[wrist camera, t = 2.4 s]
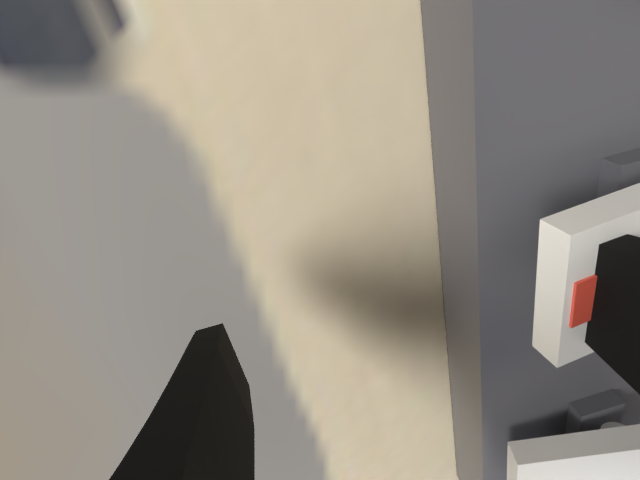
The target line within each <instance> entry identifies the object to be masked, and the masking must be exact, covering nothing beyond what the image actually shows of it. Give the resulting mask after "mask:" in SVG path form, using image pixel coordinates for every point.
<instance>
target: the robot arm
mask: <svg viewBox="0 0 640 480" xmlns="http://www.w3.org/2000/svg"><path fill="white" fill-rule="evenodd" d="M595 275H596V276H597V283H596V289H595V296H594V302H593V309H592V315H591V320H590V321H588V322H587V329H586V336H585V343H586V344H587V345H588V346H589V347H590V348H591V349H592V350H593V351H594V352H595V353H596V354H597V355H598V356H599V357H600V358H601V359H603V360H604V361H605V362H606V363H607V364H608V365H609V366H610V367H611V368H612V369H613V370H614V371H615V372H616V373H617V374H618V375H619V376H620V377H621V378H623V379H624V380H625V381H626V382H627V383H628V384H629V385H630V386H631V387H632V388H633V389H634V390H635V391H636V392H637V393H638V394H639V395H640V237H637V236H633V235H629V234H626V235H623V236H620V237H618V238H615V239H612V240H609V241H607V242H604V243H601V244H599V248H598V255H597V262H596V269H595ZM109 480H254V422H253V414H252V404H251V397H250V389H249V384H248V382H247V379H246V377H245V375H244V372H243V370H242V368H241V365H240V363H239V361H238V358H237V356H236V353H235V351H234V349H233V346H232V344H231V342H230V340H229V337H228V335H227V333H226V330H225V328H224V325H223V324H219V325H216V326H212V327H208V328H205V329H201V330H198V331H196V332H195V334H194V335H193V337H192V339H191V341H190V342H189V344H188V346H187V348H186V350H185V352H184V354H183V356H182V358H181V360H180V362H179V364H178V365H177V367H176V369H175V371H174V373H173V375H172V377H171V379H170V381H169V382H168V385H167V386H166V388H165V390H164V392H163V393H162V395H161V397H160V399H159V400H158V402H157V404H156V406H155V407H154V409H153V411H152V413H151V414H150V416H149V418H148V420H147V421H146V423H145V425H144V426H143V428H142V429H141V431H140V433H139V434H138V436H137V437H136V439H135V441H134V442H133V444H132V445H131V447H130V449H129V450H128V452H127V454H126V455H125V457H124V458H123V460H122V461H121V463H120V465H119V466H118V467H117V469H116V471H115V472H114V473H113V475H112V476H111V478H110V479H109Z"/></svg>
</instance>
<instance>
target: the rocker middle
mask: <svg viewBox="0 0 640 480" xmlns="http://www.w3.org/2000/svg"><path fill="white" fill-rule="evenodd" d="M626 234H629V235H633V236H637V237H640V183H638V184H635V185H632V186H630V187H627V188H624V189H621V190H619V191H616V192H613V193H610V194H608V195H605V196H602V197H599V198H597V199H594V200H591V201H588V202H586V203H583V204H580V205H577V206H575V207H572V208H569V209H566V210H564V211H561V212H558V213H556V214H553V215H550V216H547V217H545V218H542V219H540V225H539V241H538V258H537V274H536V290H535V306H534V322H533V338H532V346H533V347H534V348H535V349H536V350H537V351H538V352H540V353H541V354H542V355H543V356H544V357H545V358H546V359H547V360H549V361H550V362H551V363H552V364H553V365H554V366H555V367H556V368H558V367H561V366H563V365H565V364H568V363H570V362H572V361H575V360H577V359H579V358H581V357H584V356H586V355H588V354H591V353H593V352H594V351H593V350H592V349H591V348H590V347H589V346H588V345H587V344H586V343H585V336H586V329H587V322H588V321H590V320H591V315H592V309H593V302H594V296H595V289H596V283H597V276H596V275H595V269H596V262H597V255H598V248H599V244H601V243H604V242H607V241H609V240H612V239H615V238H618V237H620V236H623V235H626Z"/></svg>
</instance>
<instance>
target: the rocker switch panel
mask: <svg viewBox="0 0 640 480" xmlns="http://www.w3.org/2000/svg"><path fill="white" fill-rule="evenodd" d="M421 12H422V25H423V38H424V51H425V65H426V78H427V91H428V104H429V117H430V130H431V143H432V156H433V169H434V182H435V195H436V208H437V221H438V234H439V247H440V260H441V273H442V286H443V299H444V312H445V325H446V338H447V351H448V364H449V377H450V390H451V403H452V416H453V429H454V442H455V455H456V468H457V476H458V478H459V480H507V447H508V442H510V441H518V440H525V439H532V438H540V437H547V436H554V435H562V434H569V433H577V432H584V431H591V430H599V429H600V428H601V426H602V425H603V424H604V423H607V422H618V423H621V424H623V425H625V426H628V425H636V424H640V395H639V394H638V393H637V392H636V391H635V390H634V389H633V388H632V387H631V386H630V385H629V384H628V383H627V382H626V381H625V380H624V379H623V378H621V377H620V376H619V375H618V374H617V373H616V372H615V371H614V370H613V369H612V368H611V367H610V366H609V365H608V364H607V363H606V362H605V361H604V360H603V359H601V358H600V357H599V356H598V355H597V354H596V353H595V352H593V353H591V354H588V355H586V356H584V357H581V358H579V359H577V360H575V361H572V362H570V363H568V364H565V365H563V366H561V367H558V368H556V367H555V366H554V365H553V364H552V363H551V362H550V361H549V360H547V359H546V358H545V357H544V356H543V355H542V354H541V353H540V352H538V351H537V350H536V349H535V348H534V347H533V346H532V338H533V322H534V306H535V290H536V274H537V258H538V241H539V225H540V219H542V218H545V217H547V216H550V215H553V214H556V213H558V212H561V211H564V210H566V209H569V208H572V207H575V206H577V205H580V204H583V203H586V202H588V201H591V200H594V199H597V198H599V197H602V196H605V195H608V194H610V193H613V192H616V191H619V190H621V189H624V188H627V187H630V186H632V185H635V184H638V183H640V0H421Z"/></svg>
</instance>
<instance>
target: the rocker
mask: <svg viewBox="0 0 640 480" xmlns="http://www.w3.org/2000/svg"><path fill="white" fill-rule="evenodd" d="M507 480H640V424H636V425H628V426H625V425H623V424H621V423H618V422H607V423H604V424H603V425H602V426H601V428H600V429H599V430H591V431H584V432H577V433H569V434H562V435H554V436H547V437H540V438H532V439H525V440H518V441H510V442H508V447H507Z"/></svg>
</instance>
